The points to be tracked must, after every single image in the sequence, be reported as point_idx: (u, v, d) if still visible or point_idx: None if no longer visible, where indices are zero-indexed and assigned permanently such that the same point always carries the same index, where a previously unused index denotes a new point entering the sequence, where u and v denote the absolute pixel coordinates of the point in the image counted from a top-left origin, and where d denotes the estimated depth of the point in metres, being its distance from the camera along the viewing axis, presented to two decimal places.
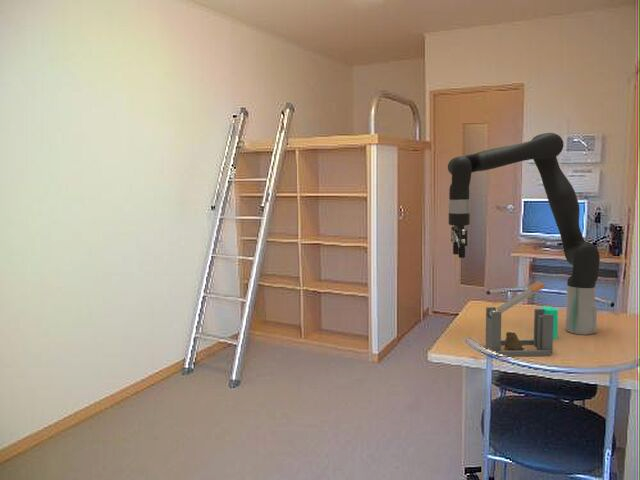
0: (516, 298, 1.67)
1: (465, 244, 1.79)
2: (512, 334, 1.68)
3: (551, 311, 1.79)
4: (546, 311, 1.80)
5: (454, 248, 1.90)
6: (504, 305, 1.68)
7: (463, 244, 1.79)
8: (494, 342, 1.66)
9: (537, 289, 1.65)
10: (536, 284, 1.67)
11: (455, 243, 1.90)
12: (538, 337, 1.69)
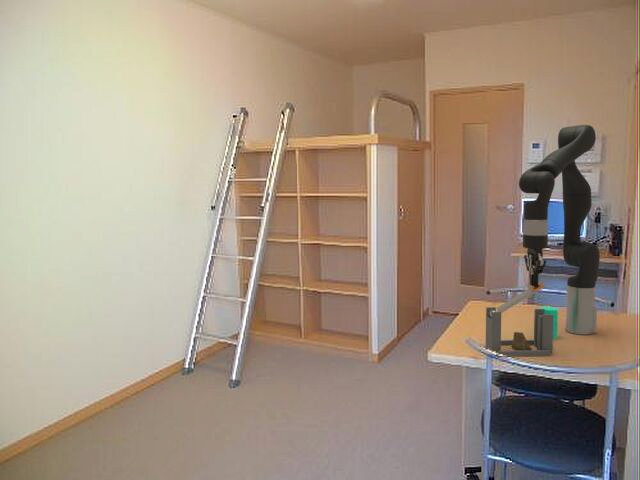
0: (516, 298, 1.67)
1: (539, 273, 1.64)
2: (519, 334, 1.68)
3: (551, 311, 1.79)
4: (546, 311, 1.80)
5: None
6: (504, 305, 1.68)
7: (537, 272, 1.63)
8: (494, 342, 1.66)
9: (537, 289, 1.65)
10: None
11: None
12: (538, 337, 1.69)
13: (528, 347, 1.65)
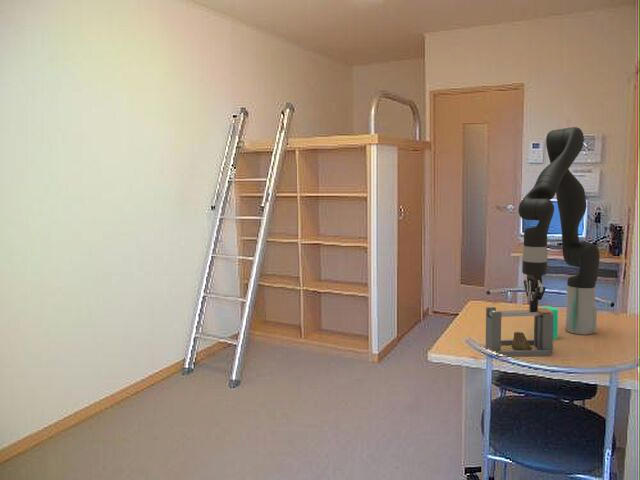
0: (521, 311, 1.68)
1: (539, 299, 1.64)
2: (520, 334, 1.68)
3: None
4: None
5: None
6: (507, 311, 1.68)
7: (537, 298, 1.64)
8: (494, 342, 1.66)
9: (544, 313, 1.66)
10: (544, 309, 1.68)
11: None
12: (538, 337, 1.69)
13: (529, 347, 1.65)
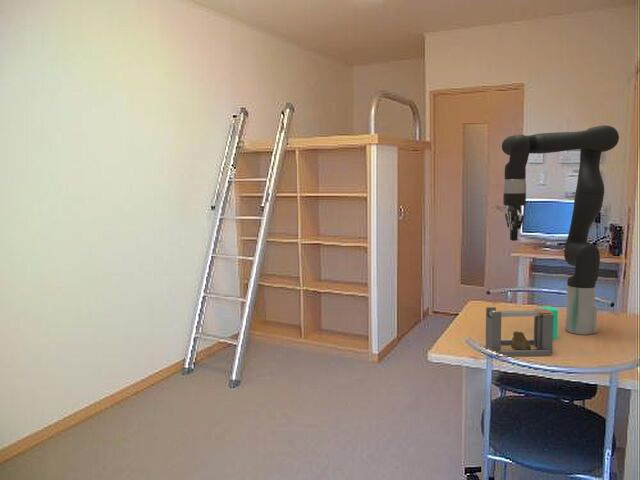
0: (521, 312, 1.68)
1: (518, 228, 1.79)
2: (519, 333, 1.68)
3: (551, 311, 1.79)
4: None
5: None
6: (507, 312, 1.68)
7: (516, 227, 1.79)
8: (494, 342, 1.66)
9: None
10: (544, 310, 1.68)
11: None
12: (538, 337, 1.69)
13: (528, 346, 1.66)
